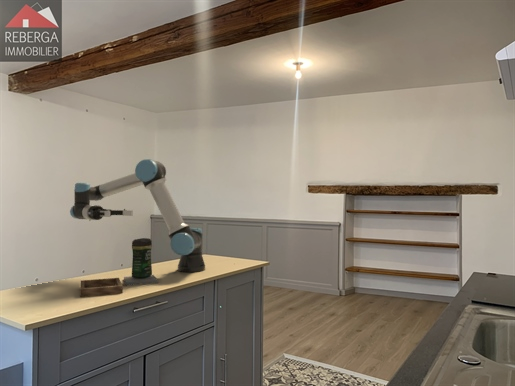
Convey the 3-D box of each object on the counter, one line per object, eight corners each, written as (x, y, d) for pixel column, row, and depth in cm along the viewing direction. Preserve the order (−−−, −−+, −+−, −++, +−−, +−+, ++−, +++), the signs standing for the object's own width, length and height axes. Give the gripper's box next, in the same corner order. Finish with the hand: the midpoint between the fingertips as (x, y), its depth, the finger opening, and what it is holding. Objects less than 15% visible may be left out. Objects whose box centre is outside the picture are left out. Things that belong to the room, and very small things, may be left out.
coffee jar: (143, 279, 179) (142, 239, 180) (129, 278, 182) (128, 239, 182) (155, 275, 188) (154, 237, 189) (141, 274, 191) (141, 237, 191)
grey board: (153, 277, 191) (153, 274, 191) (158, 283, 179) (158, 279, 179) (123, 279, 185) (123, 276, 185) (126, 285, 173) (126, 282, 173)
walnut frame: (118, 284, 176) (118, 277, 176) (122, 293, 159) (122, 285, 159) (80, 287, 169) (80, 280, 169) (80, 297, 153) (80, 289, 153)
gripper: (113, 218, 211) (140, 220, 200) (71, 220, 189) (99, 222, 178) (113, 205, 211) (140, 205, 200) (71, 205, 189) (99, 206, 178)
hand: (121, 213), depth 189 cm, fingers open, 13 cm apart
